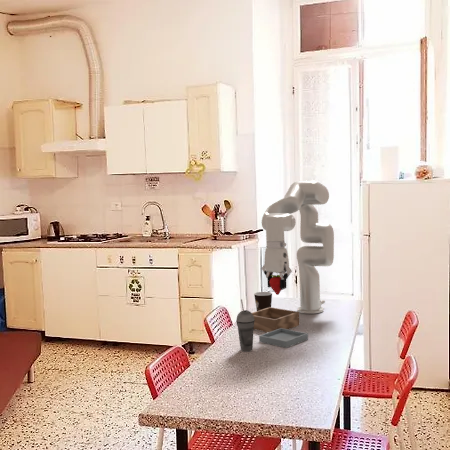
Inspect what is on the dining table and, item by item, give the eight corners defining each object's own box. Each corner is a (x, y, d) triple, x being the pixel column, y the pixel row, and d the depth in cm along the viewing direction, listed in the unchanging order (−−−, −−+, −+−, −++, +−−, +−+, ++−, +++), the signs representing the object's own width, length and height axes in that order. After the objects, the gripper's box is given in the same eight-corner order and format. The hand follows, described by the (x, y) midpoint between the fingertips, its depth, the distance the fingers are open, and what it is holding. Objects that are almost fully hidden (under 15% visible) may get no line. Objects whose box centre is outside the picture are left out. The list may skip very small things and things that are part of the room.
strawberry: (267, 296, 246) (266, 272, 245) (273, 292, 253) (272, 269, 252) (281, 296, 244) (280, 272, 243) (286, 293, 251) (285, 269, 250)
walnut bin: (270, 319, 275) (270, 307, 274) (299, 325, 263) (299, 311, 262) (246, 327, 263) (246, 314, 262) (275, 333, 251) (275, 319, 251)
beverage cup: (254, 352, 227) (252, 301, 225) (235, 352, 228) (233, 301, 226) (257, 347, 234) (255, 297, 232) (239, 346, 235) (236, 297, 233)
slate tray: (281, 333, 251) (280, 328, 251) (308, 339, 241) (307, 333, 241) (259, 341, 241) (259, 335, 241) (286, 347, 231) (286, 341, 231)
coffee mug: (273, 315, 282) (272, 295, 281) (255, 316, 282) (254, 295, 281) (272, 310, 293) (271, 290, 292) (254, 310, 293) (253, 290, 292)
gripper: (297, 245, 243) (299, 288, 245) (265, 243, 255) (267, 284, 257) (286, 247, 238) (287, 291, 239) (254, 244, 250) (255, 287, 252)
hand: (277, 287), depth 248 cm, fingers closed on strawberry, 6 cm apart
